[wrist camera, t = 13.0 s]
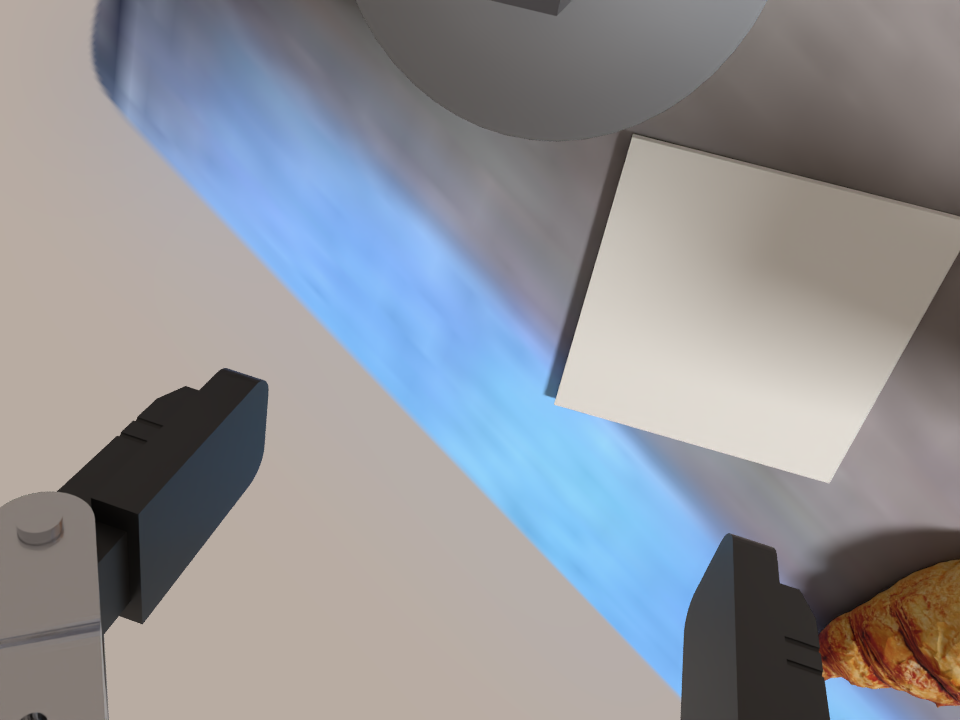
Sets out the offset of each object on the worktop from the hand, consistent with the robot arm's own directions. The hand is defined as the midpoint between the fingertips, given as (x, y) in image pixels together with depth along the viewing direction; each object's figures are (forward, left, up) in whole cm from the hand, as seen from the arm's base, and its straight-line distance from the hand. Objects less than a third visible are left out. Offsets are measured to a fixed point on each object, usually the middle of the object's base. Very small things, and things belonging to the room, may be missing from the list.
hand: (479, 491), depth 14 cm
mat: (-9, +10, -29) cm, 32 cm away
